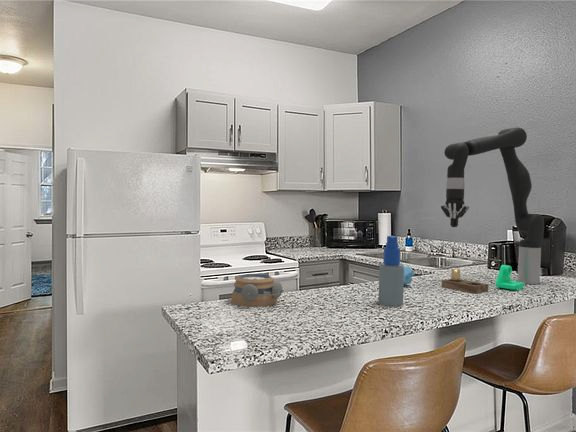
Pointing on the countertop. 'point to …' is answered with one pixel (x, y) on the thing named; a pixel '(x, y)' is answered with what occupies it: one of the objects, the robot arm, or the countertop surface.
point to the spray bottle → (391, 275)
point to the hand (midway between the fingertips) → (454, 226)
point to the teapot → (407, 275)
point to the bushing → (455, 275)
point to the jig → (465, 286)
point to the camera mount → (507, 279)
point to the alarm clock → (256, 290)
